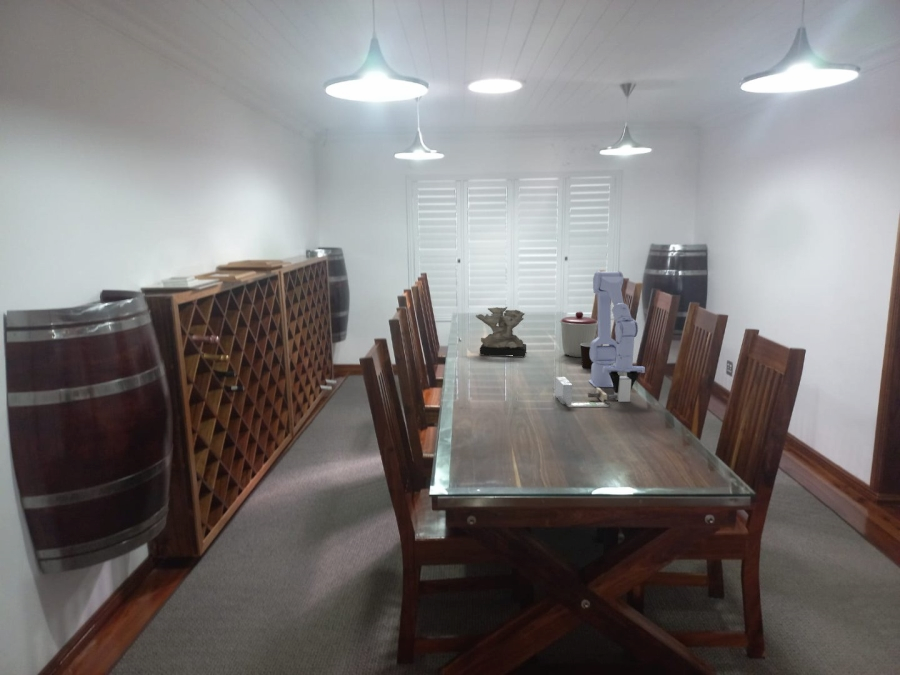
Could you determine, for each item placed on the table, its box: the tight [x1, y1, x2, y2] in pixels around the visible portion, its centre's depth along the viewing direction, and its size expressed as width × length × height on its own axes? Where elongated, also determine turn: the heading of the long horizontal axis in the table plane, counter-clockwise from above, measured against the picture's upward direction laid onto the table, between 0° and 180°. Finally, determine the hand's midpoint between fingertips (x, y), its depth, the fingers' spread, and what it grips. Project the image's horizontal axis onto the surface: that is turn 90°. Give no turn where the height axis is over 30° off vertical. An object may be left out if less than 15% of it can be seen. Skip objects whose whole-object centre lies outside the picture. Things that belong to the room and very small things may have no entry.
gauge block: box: [607, 375, 632, 403], centre depth 209 cm, size 5×7×8 cm
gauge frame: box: [554, 376, 610, 408], centre depth 207 cm, size 14×15×7 cm
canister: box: [559, 311, 598, 358], centre depth 282 cm, size 18×18×21 cm
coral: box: [475, 306, 527, 357], centre depth 288 cm, size 25×20×21 cm
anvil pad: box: [587, 387, 611, 405], centre depth 207 cm, size 14×5×3 cm, turn 3°
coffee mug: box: [580, 343, 602, 370], centre depth 258 cm, size 12×9×10 cm
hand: (622, 392), depth 209 cm, fingers closed on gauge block, 4 cm apart
